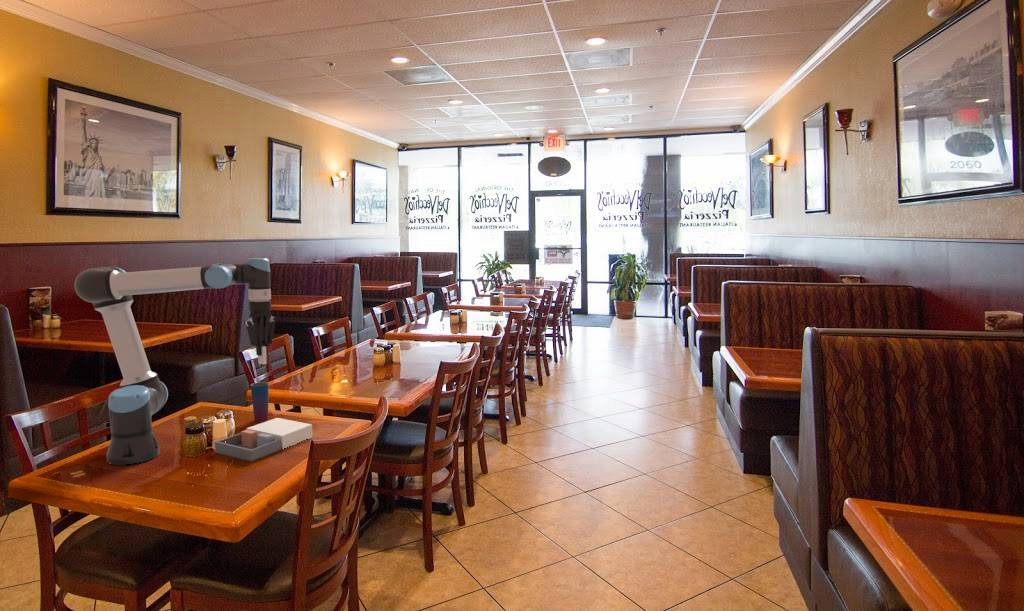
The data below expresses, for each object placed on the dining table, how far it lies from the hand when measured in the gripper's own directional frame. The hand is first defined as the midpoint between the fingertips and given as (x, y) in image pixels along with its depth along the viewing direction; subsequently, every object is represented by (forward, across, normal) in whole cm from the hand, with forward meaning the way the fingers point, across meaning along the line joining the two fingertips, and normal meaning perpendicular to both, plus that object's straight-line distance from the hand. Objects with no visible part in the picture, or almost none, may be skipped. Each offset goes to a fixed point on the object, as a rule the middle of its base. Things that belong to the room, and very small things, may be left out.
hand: (262, 363), depth 217 cm
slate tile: (+25, -9, -13) cm, 29 cm away
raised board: (+28, 0, -8) cm, 29 cm away
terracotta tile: (+25, -9, -5) cm, 27 cm away
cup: (+28, +12, +17) cm, 35 cm away
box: (+28, -14, -9) cm, 32 cm away
